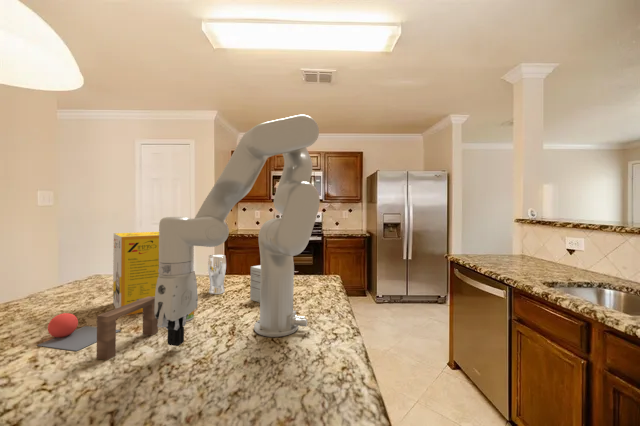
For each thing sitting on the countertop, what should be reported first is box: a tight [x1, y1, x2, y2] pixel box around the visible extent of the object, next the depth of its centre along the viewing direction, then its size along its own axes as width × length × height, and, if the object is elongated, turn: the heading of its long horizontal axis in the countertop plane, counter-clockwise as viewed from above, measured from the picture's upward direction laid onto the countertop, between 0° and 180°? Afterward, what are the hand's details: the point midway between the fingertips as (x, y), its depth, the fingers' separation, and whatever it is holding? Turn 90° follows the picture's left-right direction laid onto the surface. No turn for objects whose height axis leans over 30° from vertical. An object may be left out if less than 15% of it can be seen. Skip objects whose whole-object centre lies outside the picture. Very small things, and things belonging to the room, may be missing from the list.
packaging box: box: [112, 231, 159, 317], centre depth 102 cm, size 16×16×25 cm
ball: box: [47, 312, 79, 338], centre depth 76 cm, size 6×6×6 cm
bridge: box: [96, 296, 159, 361], centre depth 73 cm, size 3×15×10 cm, turn 168°
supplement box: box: [249, 264, 261, 304], centre depth 110 cm, size 7×7×13 cm
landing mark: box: [36, 325, 121, 352], centre depth 76 cm, size 12×12×1 cm
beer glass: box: [207, 253, 227, 295], centre depth 119 cm, size 7×7×15 cm
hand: (175, 343), depth 70 cm, fingers closed
